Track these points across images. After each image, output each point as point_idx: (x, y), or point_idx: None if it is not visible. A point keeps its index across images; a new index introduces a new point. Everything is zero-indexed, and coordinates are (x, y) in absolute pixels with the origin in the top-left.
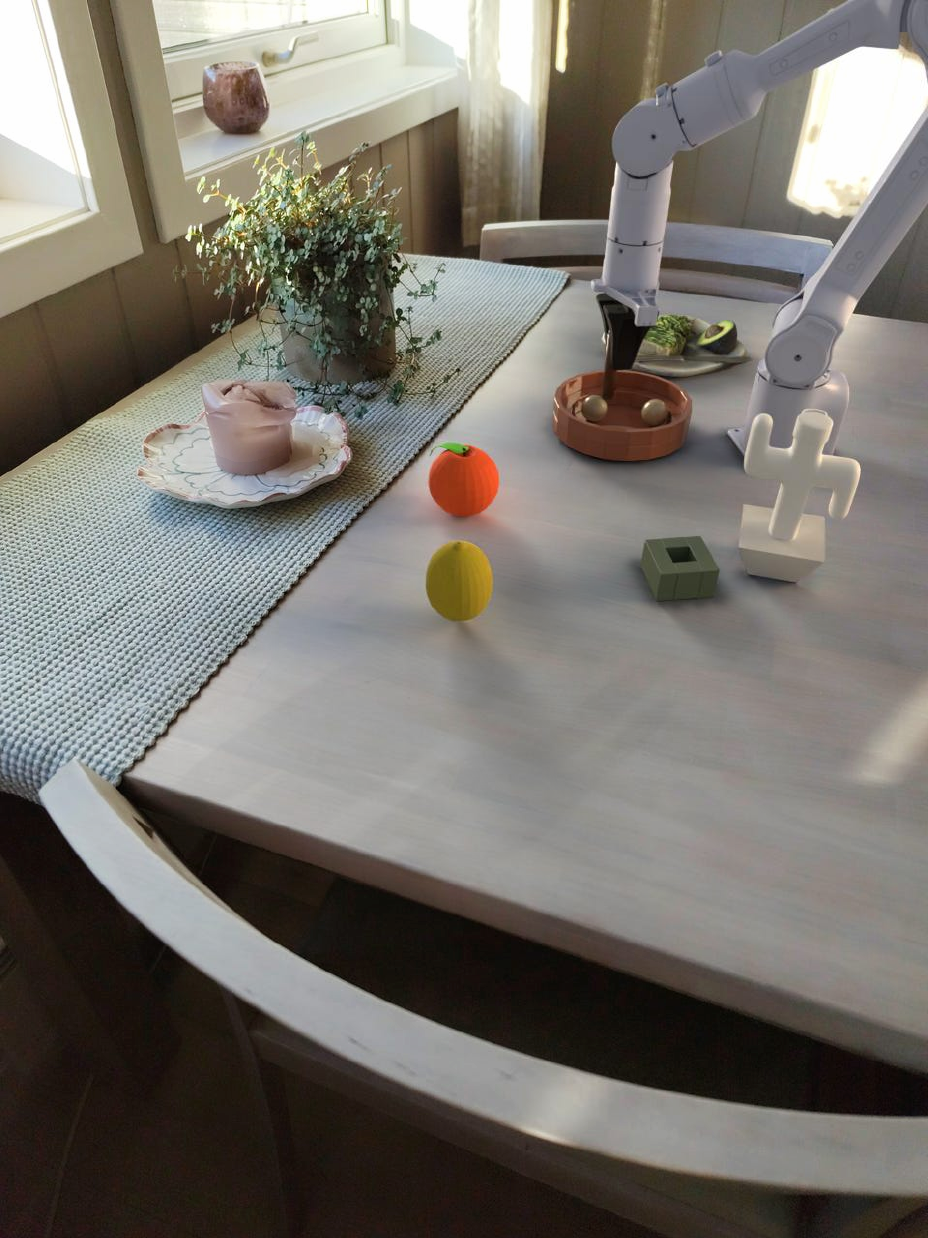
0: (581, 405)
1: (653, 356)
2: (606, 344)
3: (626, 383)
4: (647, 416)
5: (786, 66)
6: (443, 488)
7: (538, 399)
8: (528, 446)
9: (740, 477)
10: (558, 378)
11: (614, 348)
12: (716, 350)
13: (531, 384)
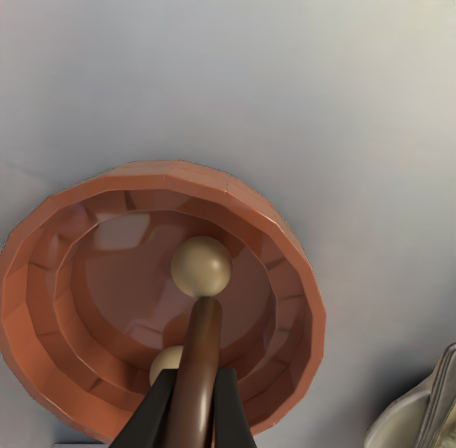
0: (205, 241)
1: (435, 428)
2: (225, 407)
3: (296, 356)
4: (157, 358)
5: None
6: None
7: (343, 150)
8: (102, 88)
9: (27, 422)
10: (446, 217)
11: (118, 434)
12: None
13: (432, 144)
